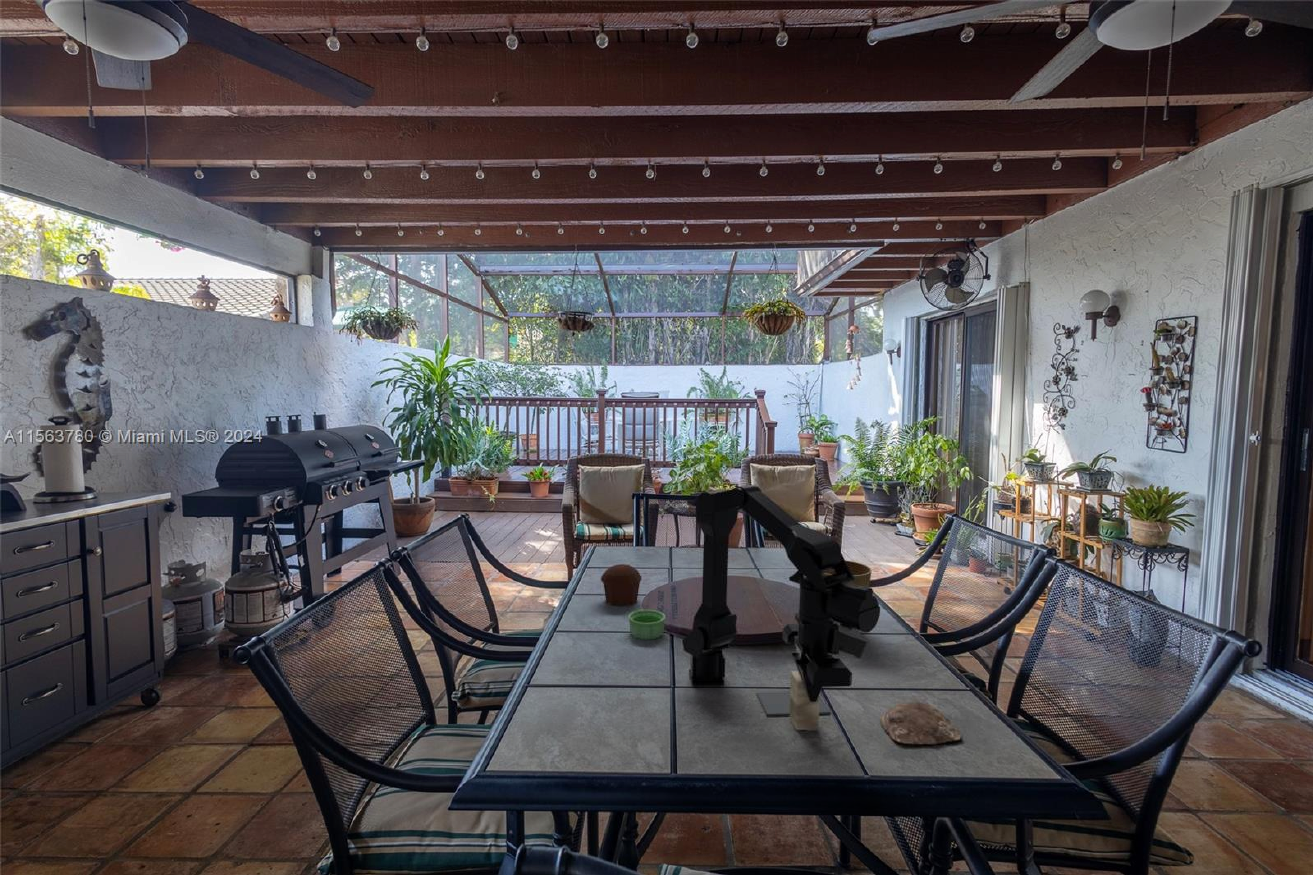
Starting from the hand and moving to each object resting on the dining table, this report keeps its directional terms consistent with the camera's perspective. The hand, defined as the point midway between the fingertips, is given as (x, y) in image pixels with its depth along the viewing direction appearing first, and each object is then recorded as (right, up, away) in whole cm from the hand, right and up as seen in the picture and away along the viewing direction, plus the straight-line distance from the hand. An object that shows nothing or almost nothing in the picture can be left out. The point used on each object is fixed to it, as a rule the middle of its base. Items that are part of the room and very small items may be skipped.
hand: (812, 700), depth 105 cm
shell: (+20, -7, +4) cm, 22 cm away
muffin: (-37, -1, +68) cm, 77 cm away
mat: (-1, -6, +12) cm, 14 cm away
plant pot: (+19, -3, +49) cm, 52 cm away
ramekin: (-29, -3, +45) cm, 54 cm away
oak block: (0, -7, +5) cm, 8 cm away
